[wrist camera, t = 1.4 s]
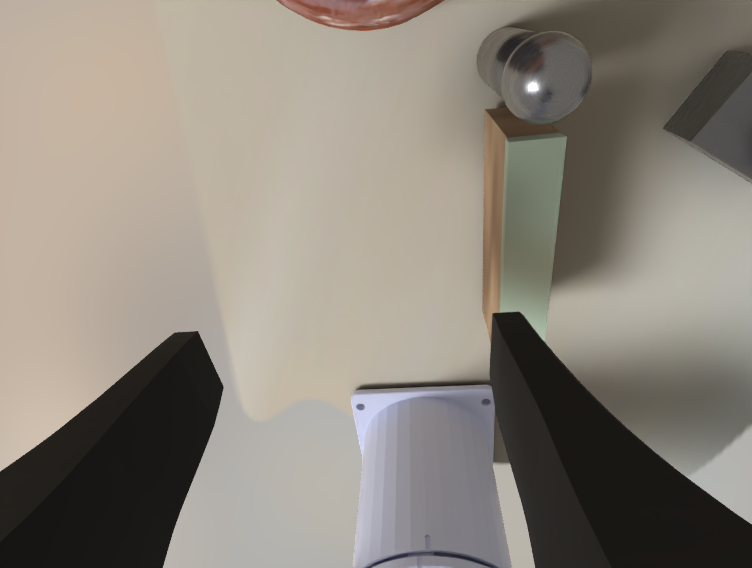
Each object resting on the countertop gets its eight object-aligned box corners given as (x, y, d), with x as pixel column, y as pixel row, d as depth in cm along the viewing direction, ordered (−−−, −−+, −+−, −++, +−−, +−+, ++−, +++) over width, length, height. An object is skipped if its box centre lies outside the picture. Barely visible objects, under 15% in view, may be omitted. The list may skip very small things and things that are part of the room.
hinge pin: (533, 87, 17) (598, 128, 11) (474, 93, 17) (508, 137, 11) (537, 19, 16) (613, 27, 10) (474, 27, 16) (511, 39, 10)
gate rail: (514, 313, 22) (540, 385, 18) (481, 315, 22) (498, 387, 18) (527, 104, 17) (566, 136, 13) (483, 109, 17) (508, 142, 13)
